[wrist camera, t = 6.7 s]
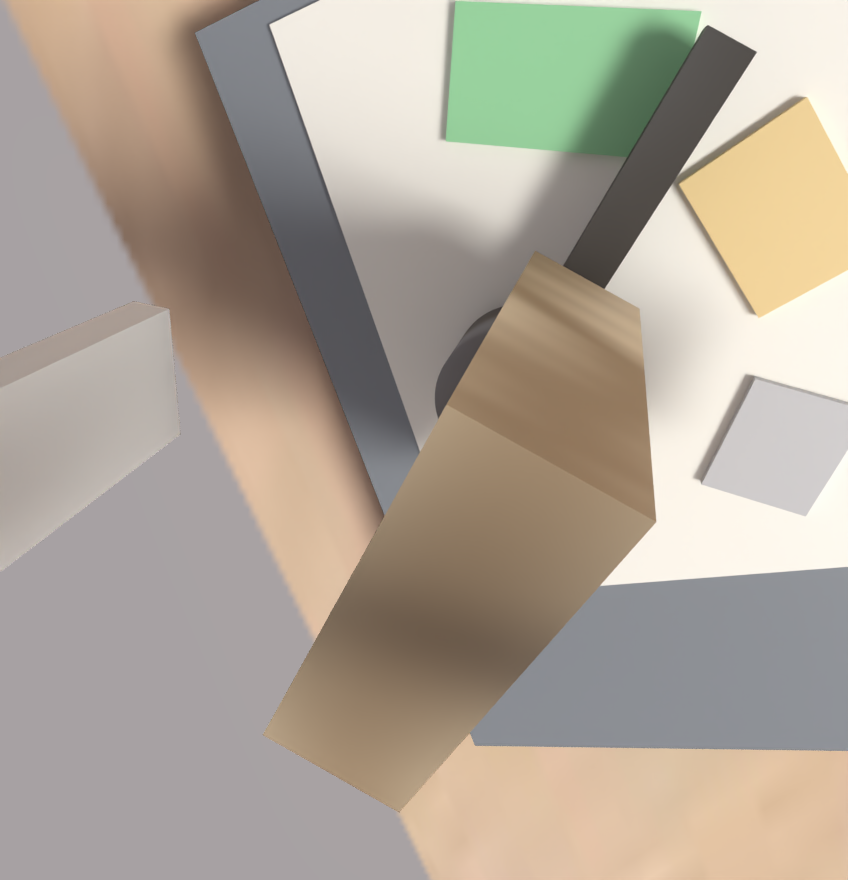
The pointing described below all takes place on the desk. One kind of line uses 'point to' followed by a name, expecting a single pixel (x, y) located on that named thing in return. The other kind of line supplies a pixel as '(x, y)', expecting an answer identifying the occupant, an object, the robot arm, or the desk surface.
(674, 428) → the board
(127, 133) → the desk surface
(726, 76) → the wooden block with bar
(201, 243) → the desk surface
